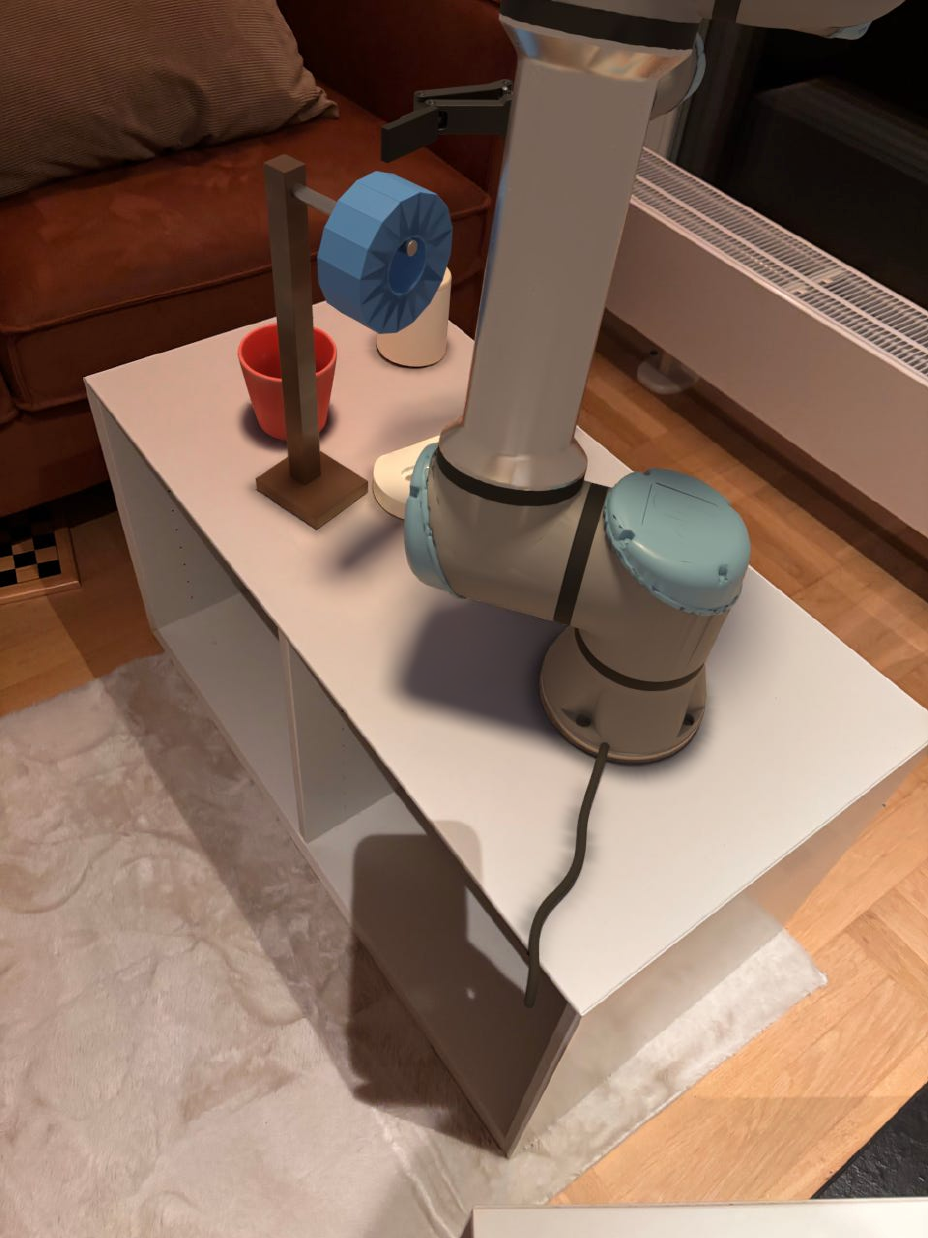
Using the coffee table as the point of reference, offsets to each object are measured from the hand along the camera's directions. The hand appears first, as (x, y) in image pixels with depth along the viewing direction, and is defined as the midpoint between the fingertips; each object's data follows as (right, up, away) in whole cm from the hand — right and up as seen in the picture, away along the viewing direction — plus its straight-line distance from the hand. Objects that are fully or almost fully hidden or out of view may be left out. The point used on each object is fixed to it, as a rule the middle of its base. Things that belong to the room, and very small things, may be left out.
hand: (447, 174), depth 74 cm
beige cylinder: (-4, +7, +38) cm, 39 cm away
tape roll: (-5, -7, -1) cm, 8 cm away
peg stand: (-12, -24, +25) cm, 37 cm away
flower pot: (-19, -13, +34) cm, 41 cm away
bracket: (0, -19, +30) cm, 36 cm away
